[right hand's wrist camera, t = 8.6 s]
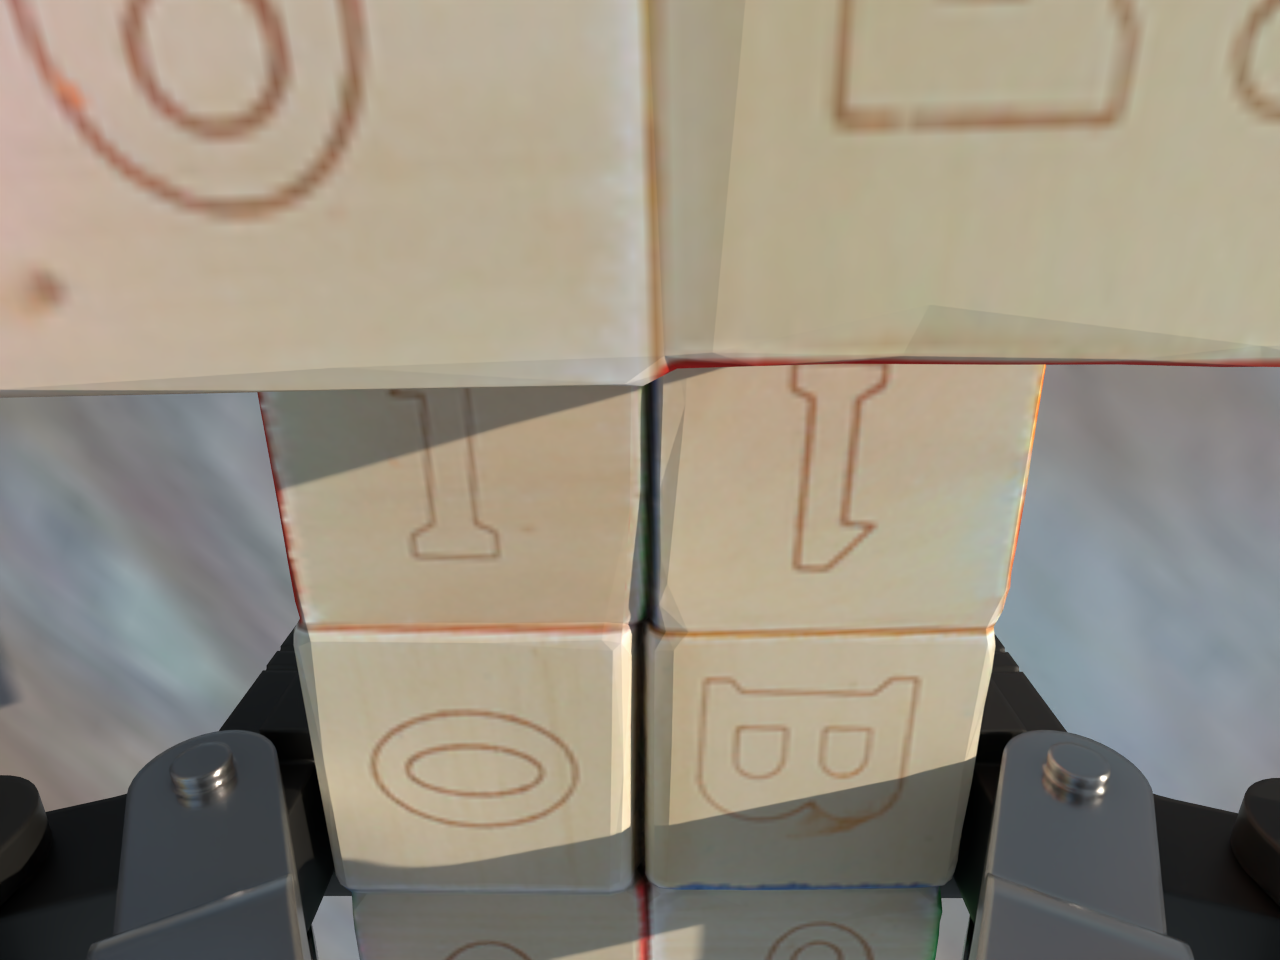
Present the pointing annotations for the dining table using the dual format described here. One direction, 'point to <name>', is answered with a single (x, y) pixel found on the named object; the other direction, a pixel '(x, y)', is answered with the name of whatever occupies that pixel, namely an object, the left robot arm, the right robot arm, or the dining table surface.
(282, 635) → the dining table surface
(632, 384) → the stack of blocks
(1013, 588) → the dining table surface
